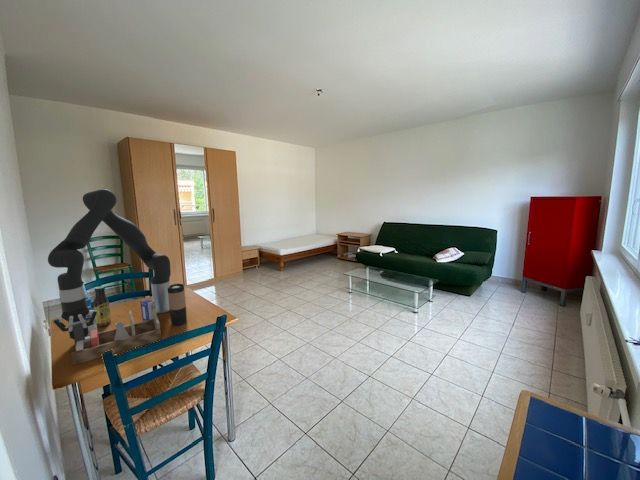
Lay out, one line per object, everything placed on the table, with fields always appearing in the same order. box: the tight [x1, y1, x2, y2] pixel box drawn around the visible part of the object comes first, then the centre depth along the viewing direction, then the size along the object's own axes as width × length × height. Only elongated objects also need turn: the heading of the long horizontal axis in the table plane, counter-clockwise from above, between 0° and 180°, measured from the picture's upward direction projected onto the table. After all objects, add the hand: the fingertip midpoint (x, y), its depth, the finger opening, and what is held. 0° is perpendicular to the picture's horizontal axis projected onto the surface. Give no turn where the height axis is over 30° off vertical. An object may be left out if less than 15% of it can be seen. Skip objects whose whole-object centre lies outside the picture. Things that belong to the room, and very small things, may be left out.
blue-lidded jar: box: [74, 296, 98, 335], centre depth 121 cm, size 8×8×20 cm
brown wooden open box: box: [70, 310, 163, 366], centre depth 119 cm, size 30×14×12 cm, turn 128°
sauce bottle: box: [93, 285, 112, 327], centre depth 137 cm, size 6×6×20 cm
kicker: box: [72, 322, 101, 352], centre depth 112 cm, size 7×14×14 cm, turn 38°
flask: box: [113, 321, 131, 341], centre depth 120 cm, size 7×7×10 cm
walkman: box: [139, 298, 158, 322], centre depth 140 cm, size 8×3×12 cm, turn 67°
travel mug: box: [167, 283, 188, 327], centre depth 139 cm, size 8×8×20 cm
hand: (79, 336), depth 111 cm, fingers closed on kicker, 3 cm apart
